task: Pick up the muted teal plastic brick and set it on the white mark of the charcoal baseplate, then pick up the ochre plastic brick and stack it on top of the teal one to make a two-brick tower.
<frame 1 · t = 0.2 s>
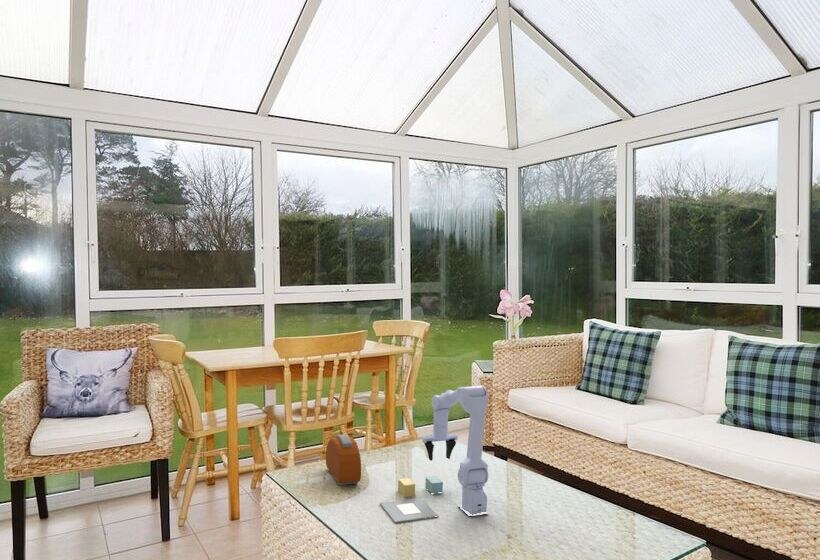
hand: (439, 458, 228), 10 cm above the table, tool pointing down, fingers open, 7 cm apart
baseplate: (408, 510, 202), on the table
ochre brick: (406, 493, 217), on the table
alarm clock: (342, 477, 232), on the table
teal brick: (433, 491, 220), on the table
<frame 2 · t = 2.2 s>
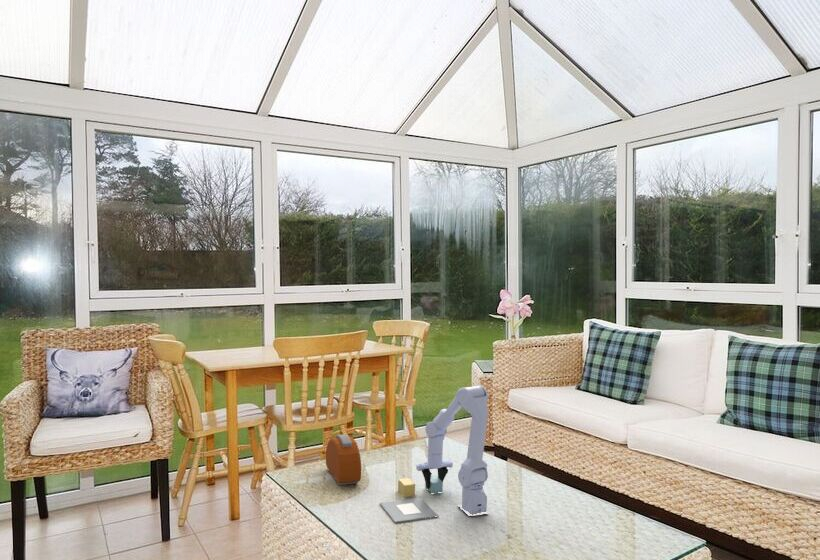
hand: (433, 487, 220), 1 cm above the table, tool pointing down, fingers closed on teal brick, 4 cm apart
teal brick: (433, 490, 220), on the table, touching gripper
everything else where it was.
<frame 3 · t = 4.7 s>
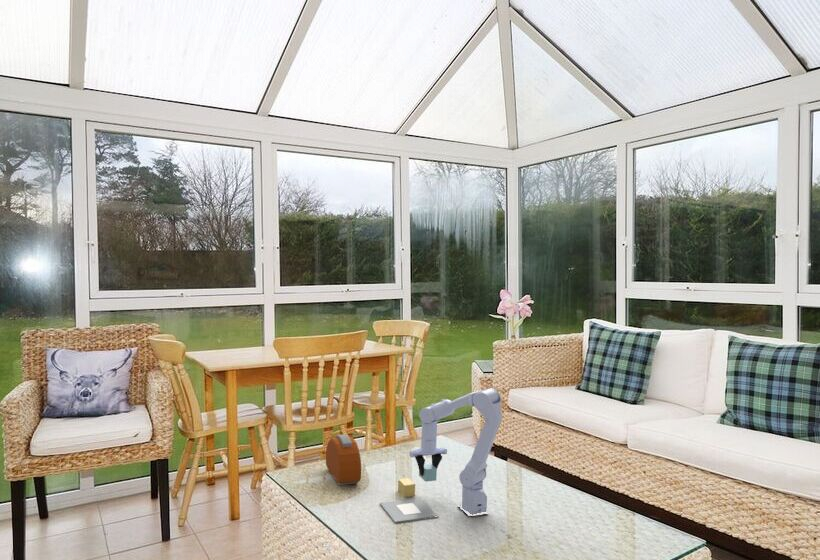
hand: (427, 474, 215), 8 cm above the table, tool pointing down, fingers closed on teal brick, 4 cm apart
teal brick: (427, 478, 215), point 7 cm above the table, touching gripper
everything else where it was.
when the fingers open (3 cm above the table, at t = 7.4 s): teal brick drops 1 cm, resting on baseplate.
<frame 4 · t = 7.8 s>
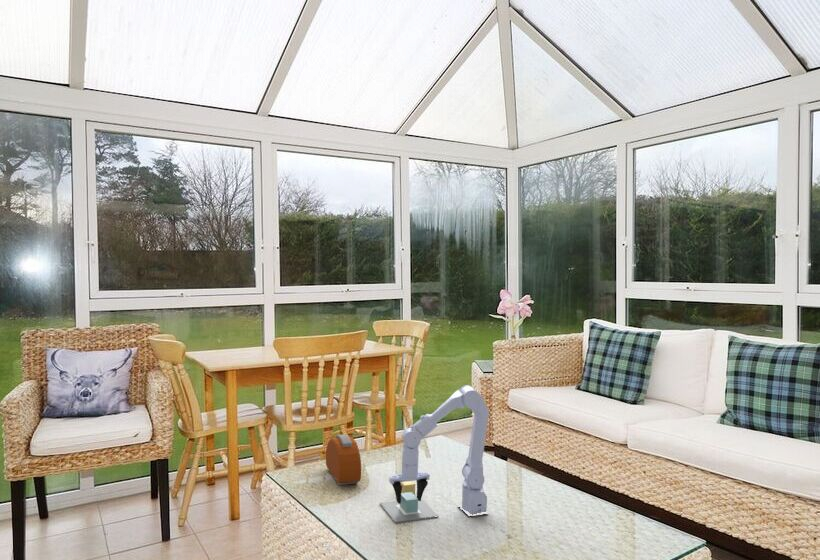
hand: (408, 501, 201), 3 cm above the table, tool pointing down, fingers open, 7 cm apart
teal brick: (408, 508, 202), point 1 cm above the table, touching baseplate
everything else where it was.
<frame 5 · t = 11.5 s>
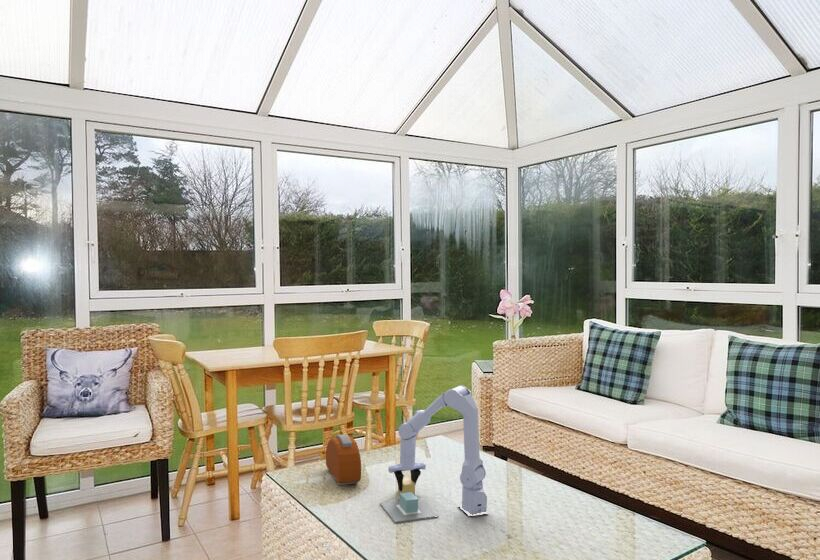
hand: (406, 489, 217), 1 cm above the table, tool pointing down, fingers closed on ochre brick, 4 cm apart
ochre brick: (406, 493, 217), on the table, touching gripper
everything else where it was.
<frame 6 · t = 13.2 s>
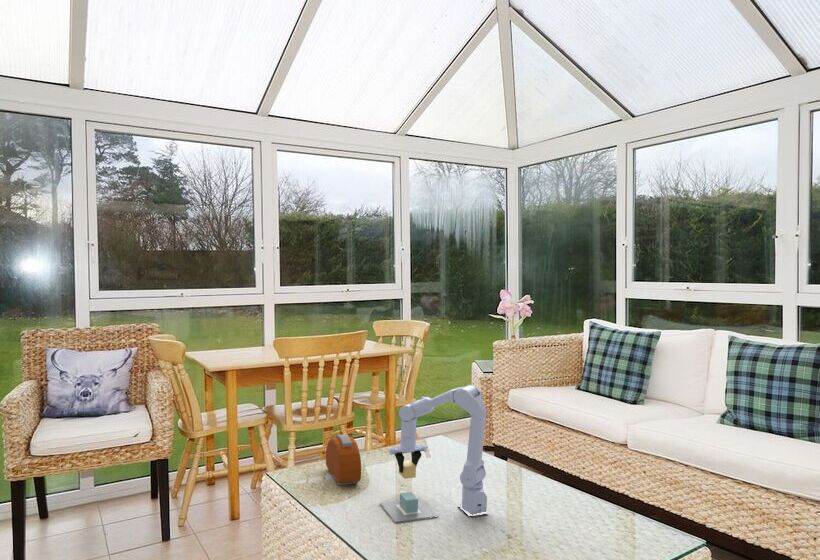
hand: (407, 471, 217), 8 cm above the table, tool pointing down, fingers closed on ochre brick, 4 cm apart
ochre brick: (407, 475, 217), point 7 cm above the table, touching gripper
everything else where it was.
when the fingers open (8 cm above the table, at t = 15.4 s): ochre brick drops 1 cm, resting on teal brick.
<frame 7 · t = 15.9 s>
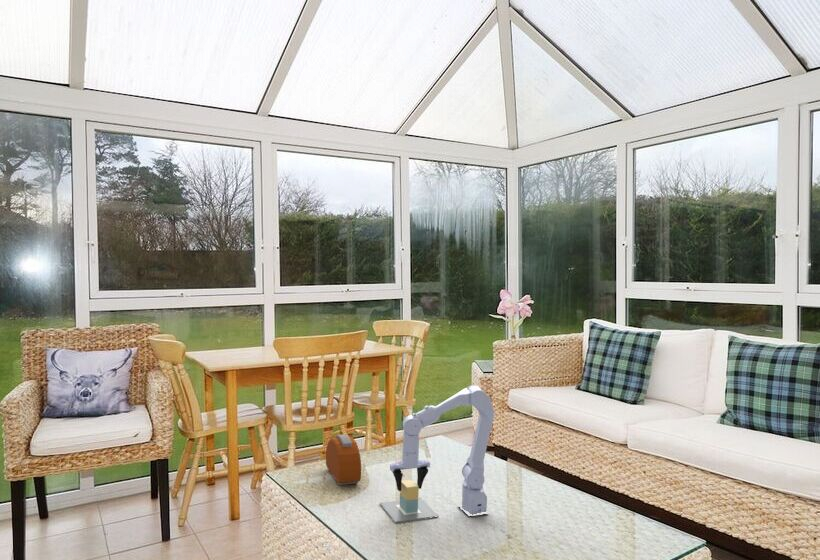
hand: (409, 488, 201), 8 cm above the table, tool pointing down, fingers open, 7 cm apart
ochre brick: (409, 496, 201), point 5 cm above the table, touching teal brick
teal brick: (408, 508, 202), point 1 cm above the table, touching baseplate, ochre brick
everything else where it was.
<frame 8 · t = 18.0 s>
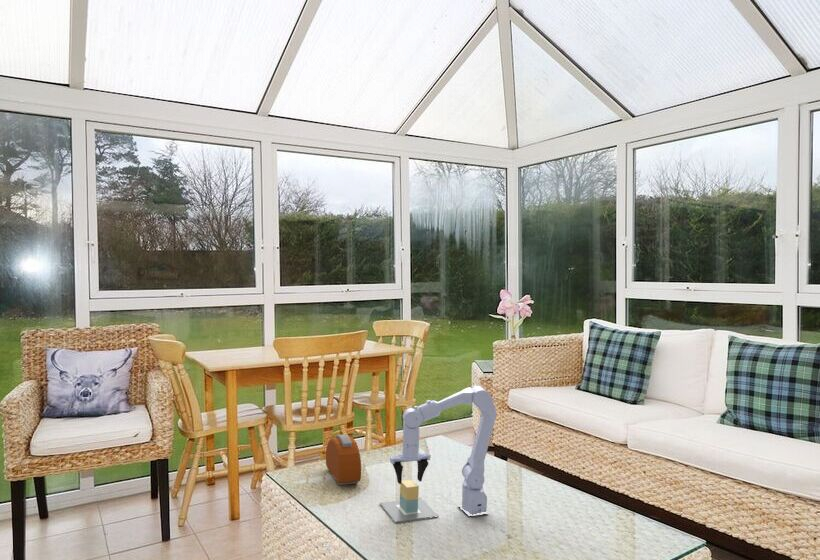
hand: (409, 481, 201), 10 cm above the table, tool pointing down, fingers open, 7 cm apart
nothing on the table moved.
at the end: teal brick 0.1 cm off-centre on the baseplate, point 0.7 cm above the baseplate's base; ochre brick 0.0 cm off-centre on the teal brick, point 4.5 cm above the teal brick's base; ochre brick tilted 0° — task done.
